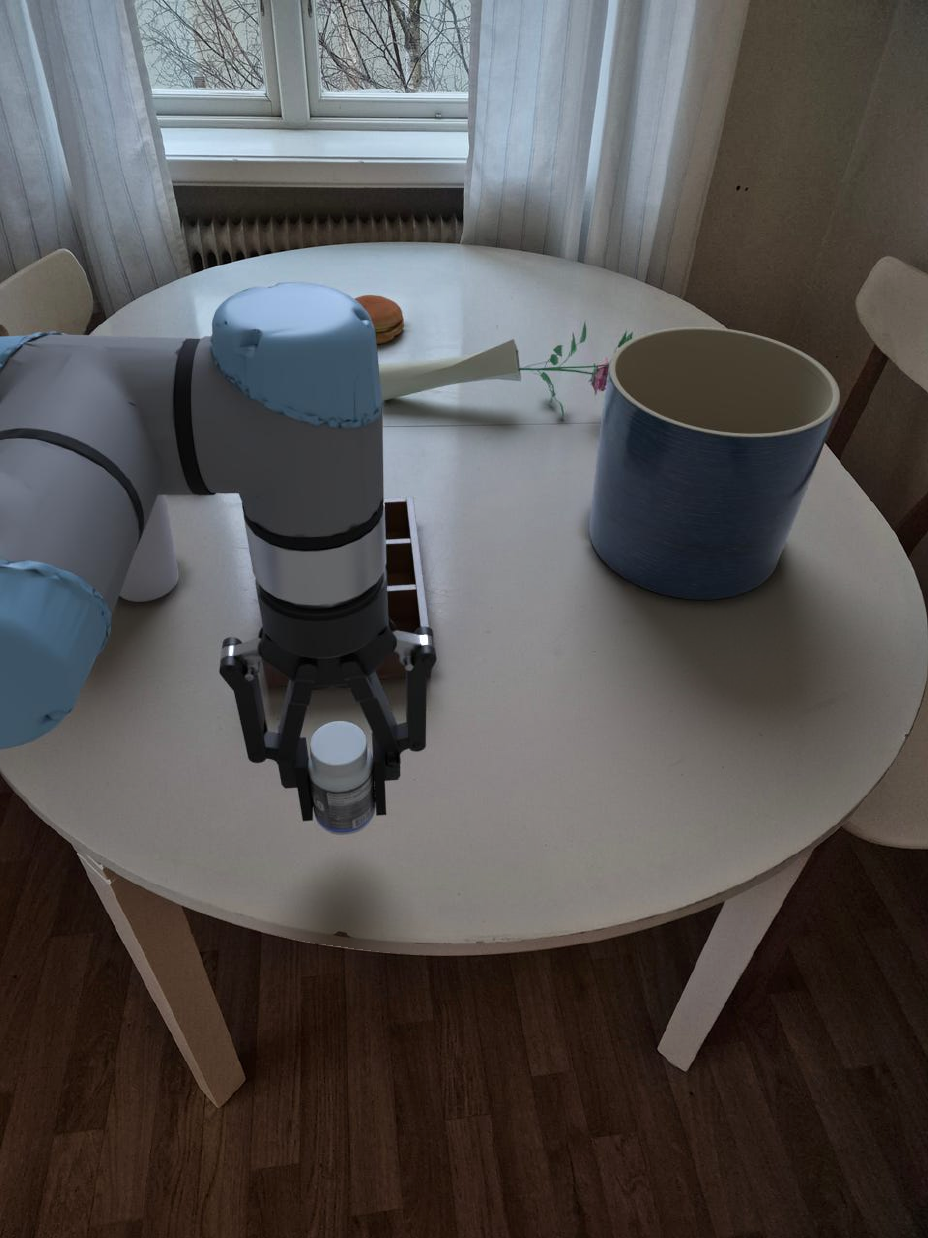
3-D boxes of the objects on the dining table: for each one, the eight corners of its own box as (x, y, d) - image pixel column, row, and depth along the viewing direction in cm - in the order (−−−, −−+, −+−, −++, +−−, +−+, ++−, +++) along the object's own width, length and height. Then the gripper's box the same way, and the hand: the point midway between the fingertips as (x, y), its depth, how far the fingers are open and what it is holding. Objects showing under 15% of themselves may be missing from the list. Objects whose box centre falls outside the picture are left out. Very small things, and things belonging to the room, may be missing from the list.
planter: (545, 524, 99) (562, 362, 86) (677, 463, 109) (712, 309, 95) (688, 633, 87) (736, 464, 73) (823, 553, 97) (887, 390, 83)
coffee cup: (168, 541, 96) (136, 422, 85) (209, 586, 90) (180, 465, 80) (84, 576, 91) (39, 455, 81) (122, 625, 86) (79, 502, 76)
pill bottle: (310, 790, 67) (301, 721, 61) (370, 780, 68) (366, 711, 62) (317, 842, 64) (307, 774, 58) (380, 831, 65) (376, 763, 59)
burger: (405, 319, 138) (404, 290, 135) (402, 346, 131) (401, 316, 128) (343, 318, 138) (341, 289, 134) (337, 345, 131) (334, 315, 128)
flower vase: (401, 433, 127) (642, 397, 121) (385, 455, 116) (648, 416, 110) (384, 351, 122) (634, 309, 116) (365, 366, 111) (640, 320, 105)
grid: (267, 687, 80) (260, 653, 77) (277, 537, 97) (271, 503, 94) (431, 675, 82) (431, 641, 79) (413, 529, 98) (413, 496, 95)
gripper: (467, 522, 53) (455, 755, 69) (169, 534, 51) (228, 771, 67) (483, 604, 48) (466, 836, 64) (150, 621, 46) (220, 856, 62)
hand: (344, 802), depth 65 cm, fingers closed on pill bottle, 5 cm apart
